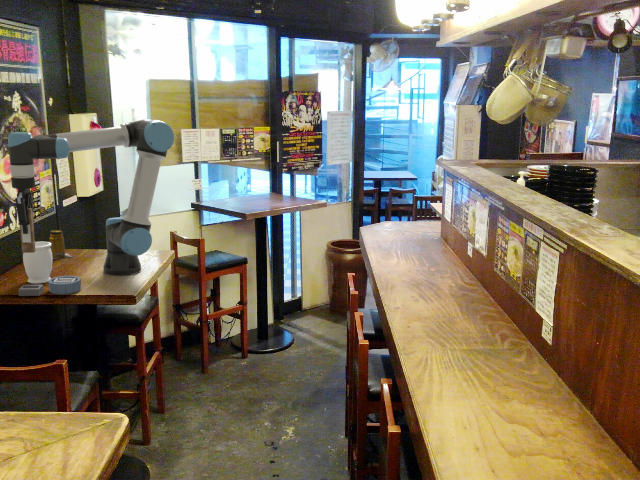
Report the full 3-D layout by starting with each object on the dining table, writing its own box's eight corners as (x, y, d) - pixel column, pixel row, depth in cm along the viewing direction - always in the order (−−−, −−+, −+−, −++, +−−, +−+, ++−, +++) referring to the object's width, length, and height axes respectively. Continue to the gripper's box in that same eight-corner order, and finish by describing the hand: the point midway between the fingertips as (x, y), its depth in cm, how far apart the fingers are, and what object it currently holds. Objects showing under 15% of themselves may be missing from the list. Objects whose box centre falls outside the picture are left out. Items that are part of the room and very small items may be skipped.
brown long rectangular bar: (35, 251, 221) (32, 208, 217) (33, 252, 219) (30, 209, 215) (23, 251, 220) (20, 208, 216) (22, 252, 218) (18, 209, 214)
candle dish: (83, 285, 234) (83, 275, 233) (77, 294, 224) (76, 284, 223) (53, 286, 232) (53, 276, 231) (45, 294, 222) (45, 284, 221)
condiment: (48, 256, 275) (46, 230, 272) (67, 254, 280) (66, 228, 277) (52, 259, 269) (50, 233, 267) (72, 257, 274) (70, 231, 272)
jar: (42, 286, 232) (39, 248, 229) (18, 283, 234) (15, 245, 231) (59, 278, 242) (57, 242, 239) (36, 276, 244) (34, 240, 241)
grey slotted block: (43, 290, 226) (43, 284, 225) (39, 295, 221) (39, 289, 220) (23, 291, 225) (23, 284, 224) (19, 296, 219) (18, 289, 219)
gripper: (18, 173, 220) (23, 236, 225) (4, 179, 205) (10, 246, 211) (40, 174, 221) (44, 236, 226) (27, 179, 207) (33, 246, 212)
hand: (28, 241), depth 218 cm, fingers closed on brown long rectangular bar, 2 cm apart
